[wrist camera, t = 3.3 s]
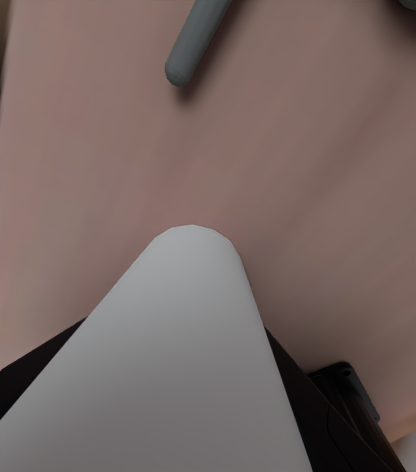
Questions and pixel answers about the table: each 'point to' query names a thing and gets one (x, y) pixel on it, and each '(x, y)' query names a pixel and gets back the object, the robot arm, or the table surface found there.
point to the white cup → (162, 376)
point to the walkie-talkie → (203, 38)
